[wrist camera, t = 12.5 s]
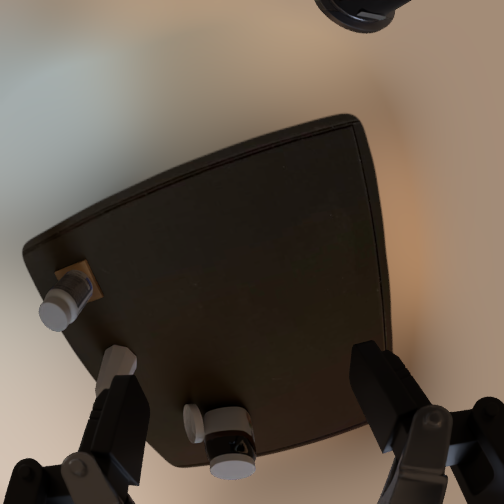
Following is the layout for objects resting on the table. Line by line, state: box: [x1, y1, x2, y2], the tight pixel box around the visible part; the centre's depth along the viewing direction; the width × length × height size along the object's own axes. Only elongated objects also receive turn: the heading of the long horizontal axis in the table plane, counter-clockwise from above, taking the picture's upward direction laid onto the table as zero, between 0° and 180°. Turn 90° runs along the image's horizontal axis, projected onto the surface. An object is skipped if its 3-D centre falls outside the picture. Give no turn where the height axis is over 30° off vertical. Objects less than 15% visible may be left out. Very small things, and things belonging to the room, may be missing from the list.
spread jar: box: [183, 404, 256, 480], centre depth 42 cm, size 12×11×12 cm
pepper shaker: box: [93, 345, 137, 405], centre depth 36 cm, size 5×5×11 cm
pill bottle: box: [39, 270, 93, 332], centre depth 32 cm, size 5×5×8 cm
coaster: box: [55, 259, 104, 303], centre depth 37 cm, size 6×6×1 cm
